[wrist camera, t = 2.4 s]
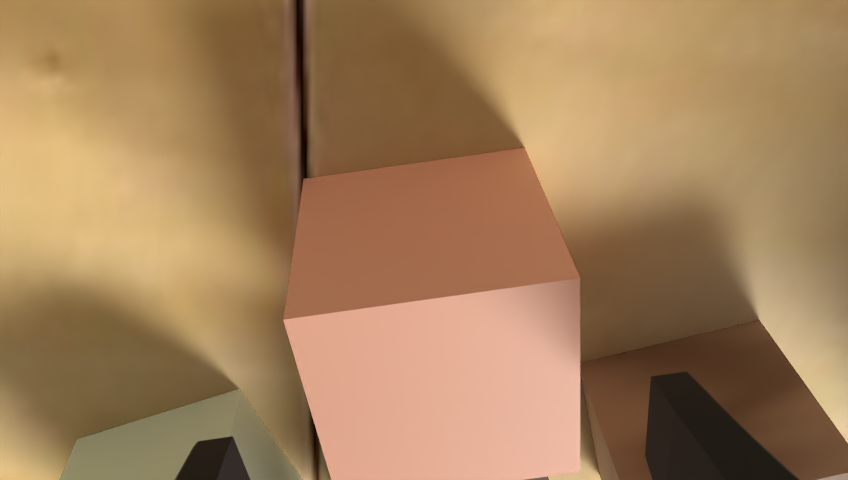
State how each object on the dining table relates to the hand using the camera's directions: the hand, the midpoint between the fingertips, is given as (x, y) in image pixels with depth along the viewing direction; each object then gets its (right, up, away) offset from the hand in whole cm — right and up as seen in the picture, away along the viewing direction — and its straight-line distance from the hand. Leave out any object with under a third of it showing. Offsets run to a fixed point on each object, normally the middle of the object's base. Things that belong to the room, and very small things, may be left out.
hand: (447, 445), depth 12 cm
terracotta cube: (0, +3, +5) cm, 6 cm away
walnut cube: (+7, -1, +9) cm, 11 cm away
